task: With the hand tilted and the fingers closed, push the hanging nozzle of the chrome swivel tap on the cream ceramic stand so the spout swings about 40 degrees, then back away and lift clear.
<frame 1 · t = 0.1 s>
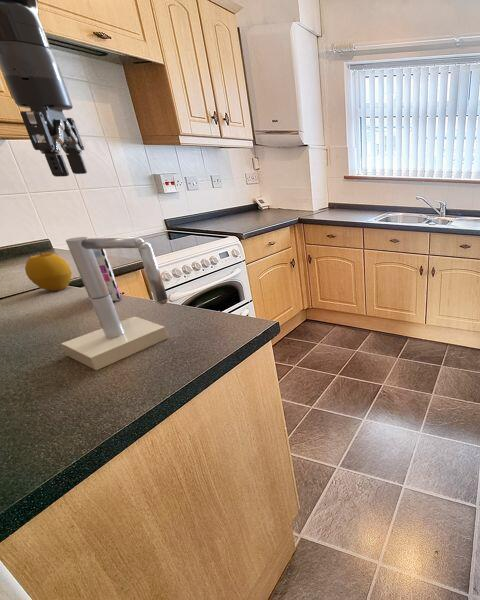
hand: (71, 175, 66), 35 cm above the table, tool pointing down, fingers open, 8 cm apart
tap stand: (119, 346, 74), on the table
yellow fruit: (57, 289, 106), on the table
spout: (118, 267, 67), point 18 cm above the table, hinge at 0.0°
candy bar box: (111, 297, 99), on the table
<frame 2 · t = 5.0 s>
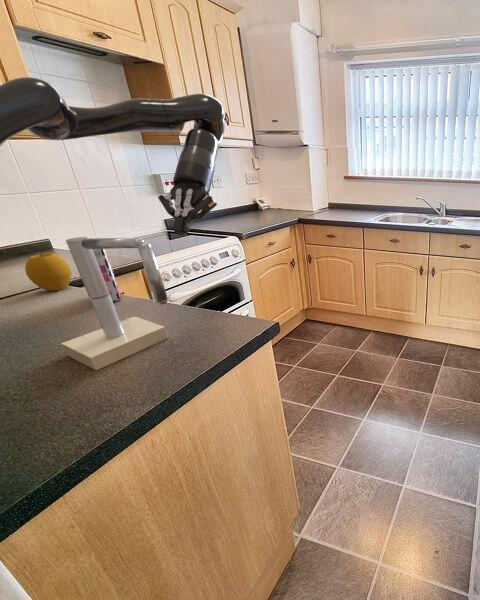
hand: (179, 233, 76), 22 cm above the table, tool tilted 40°, fingers closed
nothing on the table moved.
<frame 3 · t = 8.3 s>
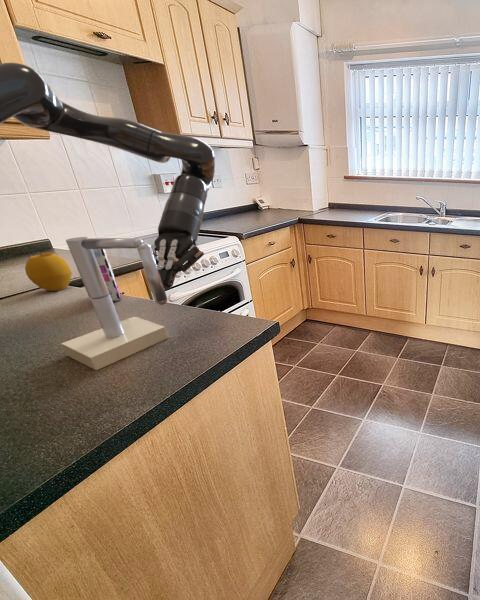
hand: (162, 288, 71), 13 cm above the table, tool tilted 45°, fingers closed
spout: (118, 267, 67), point 18 cm above the table, hinge at -0.9°, touching gripper
everything else where it was.
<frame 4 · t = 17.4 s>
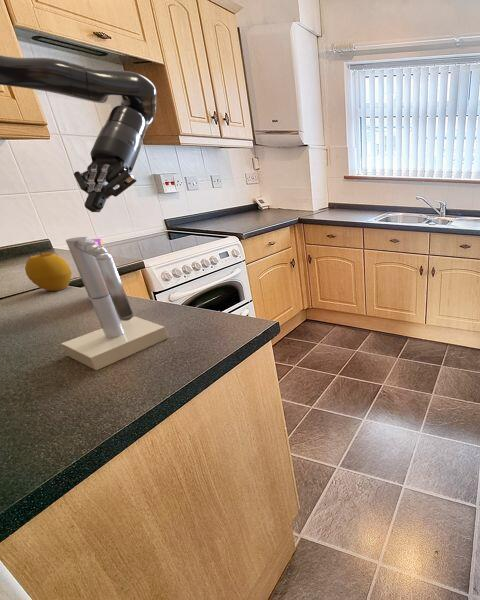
hand: (91, 209, 72), 28 cm above the table, tool tilted 45°, fingers closed
spout: (99, 273, 64), point 18 cm above the table, hinge at -37.0°
everything else where it was.
at the end: spout at -37° (first picture: +0°); the gripper is holding nothing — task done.
